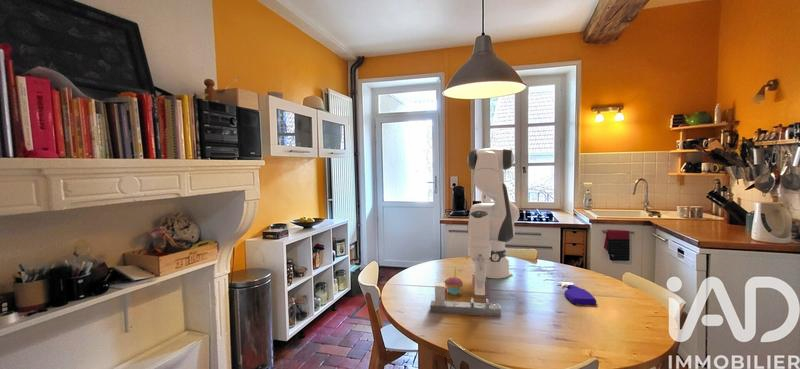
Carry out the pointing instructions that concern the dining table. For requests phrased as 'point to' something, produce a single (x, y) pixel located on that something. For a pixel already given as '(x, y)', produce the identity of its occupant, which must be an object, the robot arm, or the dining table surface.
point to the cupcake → (453, 284)
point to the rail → (461, 305)
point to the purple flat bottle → (577, 294)
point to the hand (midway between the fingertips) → (479, 285)
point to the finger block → (475, 286)
